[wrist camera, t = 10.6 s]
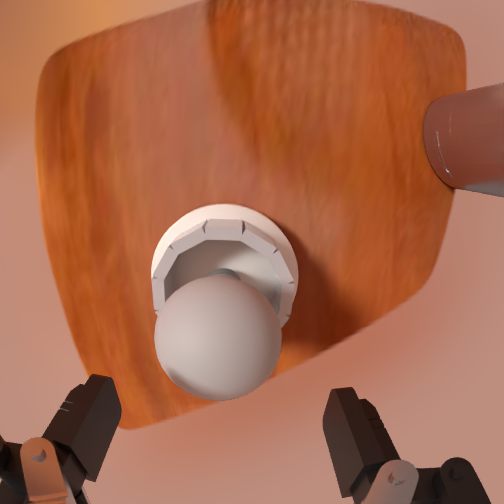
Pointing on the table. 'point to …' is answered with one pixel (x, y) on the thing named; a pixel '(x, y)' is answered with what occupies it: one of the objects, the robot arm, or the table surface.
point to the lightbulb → (218, 337)
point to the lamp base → (227, 254)
